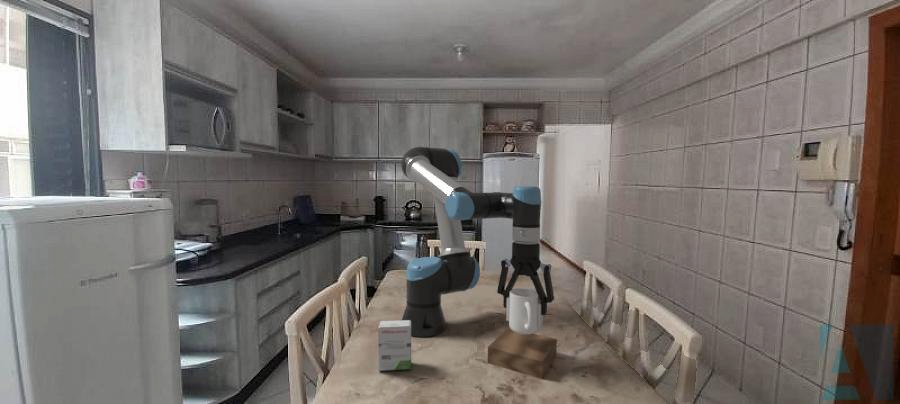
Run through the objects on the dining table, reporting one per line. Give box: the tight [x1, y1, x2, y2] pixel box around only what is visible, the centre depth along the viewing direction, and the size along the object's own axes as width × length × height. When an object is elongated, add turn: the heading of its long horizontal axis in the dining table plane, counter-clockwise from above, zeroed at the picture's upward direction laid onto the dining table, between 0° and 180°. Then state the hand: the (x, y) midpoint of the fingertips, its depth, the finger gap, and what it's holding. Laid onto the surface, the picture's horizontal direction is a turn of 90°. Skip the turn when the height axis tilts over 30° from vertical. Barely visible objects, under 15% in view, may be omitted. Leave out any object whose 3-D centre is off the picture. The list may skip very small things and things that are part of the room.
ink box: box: [377, 319, 412, 372], centre depth 94 cm, size 9×5×12 cm, turn 96°
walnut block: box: [487, 327, 558, 380], centre depth 99 cm, size 15×15×5 cm
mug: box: [508, 287, 540, 334], centre depth 96 cm, size 12×8×10 cm
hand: (524, 322), depth 98 cm, fingers closed on mug, 8 cm apart
